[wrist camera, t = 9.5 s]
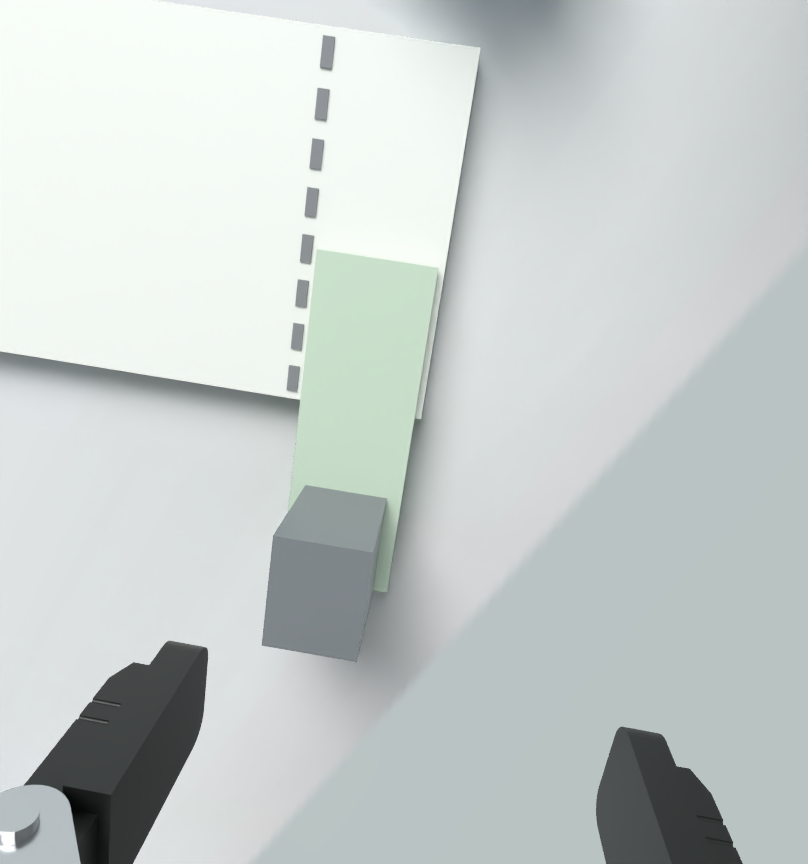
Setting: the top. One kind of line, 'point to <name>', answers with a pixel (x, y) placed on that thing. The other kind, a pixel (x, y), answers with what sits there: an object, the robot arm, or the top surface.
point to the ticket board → (211, 180)
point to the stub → (348, 451)
